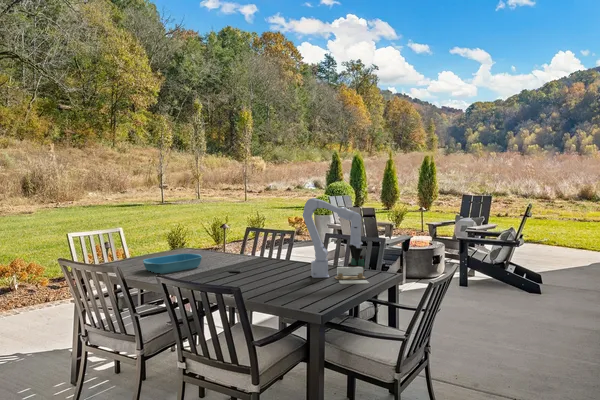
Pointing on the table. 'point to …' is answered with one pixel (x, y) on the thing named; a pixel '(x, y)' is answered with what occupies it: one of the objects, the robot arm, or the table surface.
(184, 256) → the casserole dish
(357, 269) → the rail
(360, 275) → the rack
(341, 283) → the mat
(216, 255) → the table surface
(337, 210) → the robot arm
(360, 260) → the binoculars
